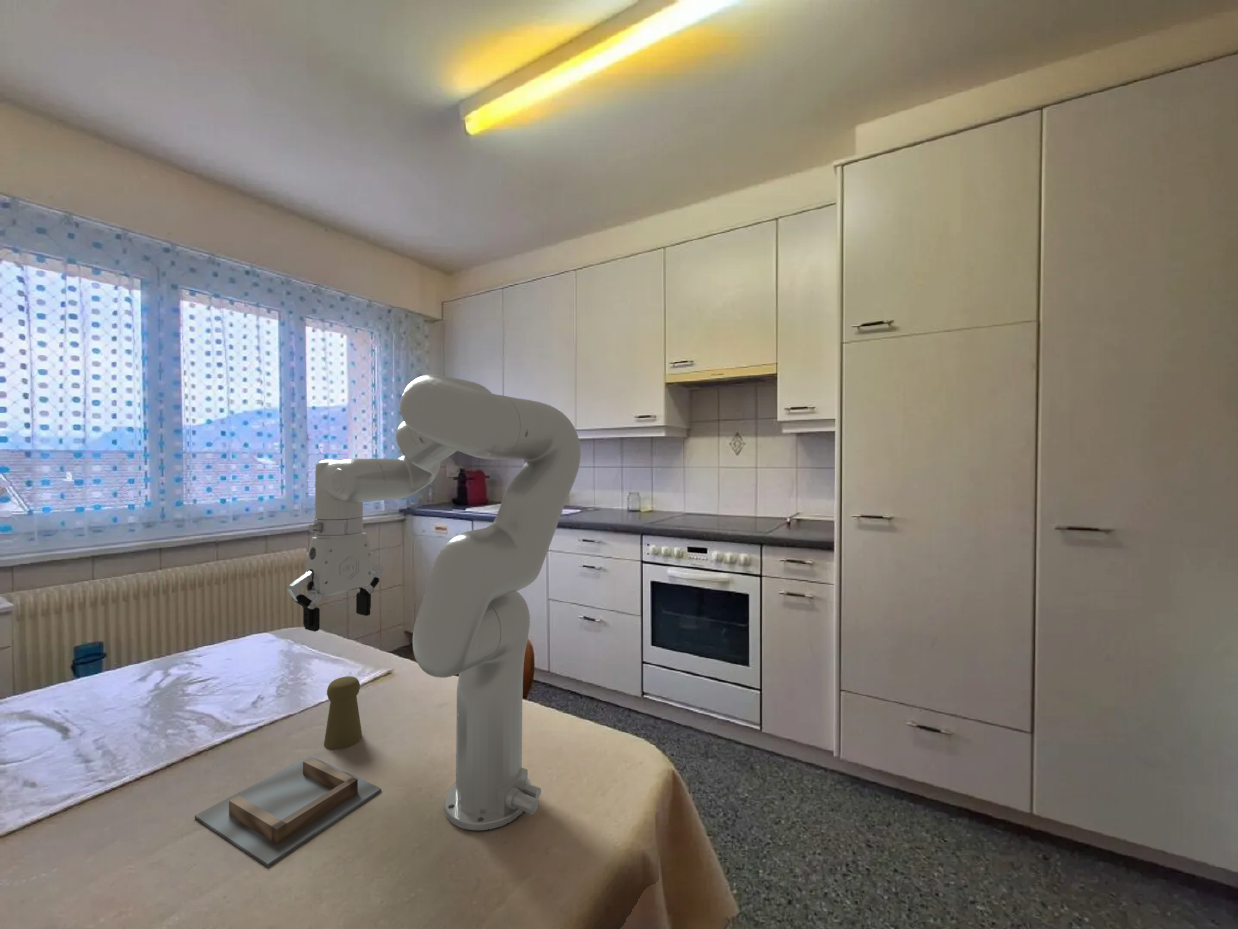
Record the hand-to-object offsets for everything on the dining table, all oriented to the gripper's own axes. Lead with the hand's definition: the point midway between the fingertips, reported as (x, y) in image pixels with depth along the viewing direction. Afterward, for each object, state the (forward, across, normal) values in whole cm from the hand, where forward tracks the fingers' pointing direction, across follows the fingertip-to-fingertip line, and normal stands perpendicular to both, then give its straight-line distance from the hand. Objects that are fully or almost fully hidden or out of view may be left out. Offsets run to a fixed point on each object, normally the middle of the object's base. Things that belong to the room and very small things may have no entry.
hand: (338, 621), depth 90 cm
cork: (+21, 0, -2) cm, 21 cm away
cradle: (+21, -14, -12) cm, 28 cm away
